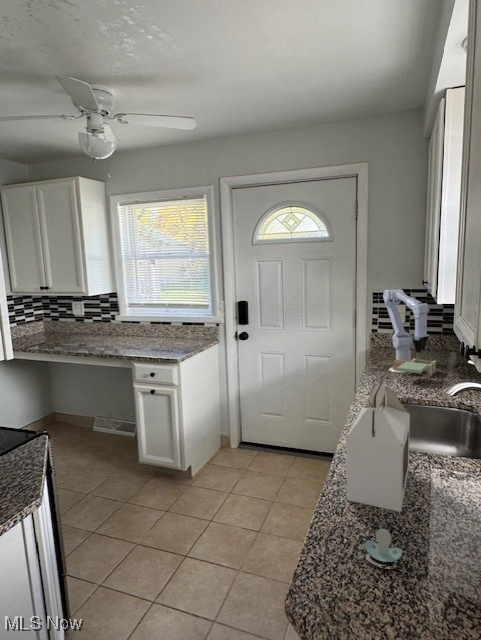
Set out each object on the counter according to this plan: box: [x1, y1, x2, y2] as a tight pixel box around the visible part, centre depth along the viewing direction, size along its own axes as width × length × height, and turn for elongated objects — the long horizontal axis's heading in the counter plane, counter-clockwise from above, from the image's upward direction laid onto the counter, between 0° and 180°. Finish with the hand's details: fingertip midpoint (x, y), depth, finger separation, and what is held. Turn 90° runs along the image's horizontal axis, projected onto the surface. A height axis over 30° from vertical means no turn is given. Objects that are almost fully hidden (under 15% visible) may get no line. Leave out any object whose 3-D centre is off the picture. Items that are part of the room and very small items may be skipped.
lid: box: [397, 361, 429, 374], centre depth 203 cm, size 14×11×2 cm
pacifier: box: [364, 528, 403, 566], centre depth 84 cm, size 7×6×6 cm
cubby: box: [406, 358, 437, 379], centre depth 215 cm, size 14×11×6 cm
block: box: [392, 358, 406, 370], centre depth 222 cm, size 5×5×5 cm
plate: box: [388, 366, 407, 374], centre depth 222 cm, size 10×10×1 cm
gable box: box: [345, 378, 411, 512], centre depth 110 cm, size 22×13×28 cm, turn 153°
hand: (420, 351), depth 221 cm, fingers open, 7 cm apart
